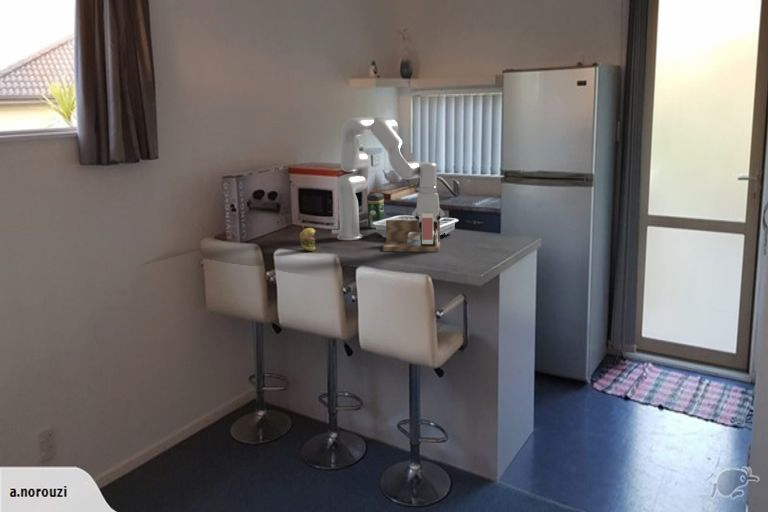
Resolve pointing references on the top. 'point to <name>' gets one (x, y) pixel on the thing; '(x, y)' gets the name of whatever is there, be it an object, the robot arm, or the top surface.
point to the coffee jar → (375, 208)
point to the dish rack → (445, 223)
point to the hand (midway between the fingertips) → (428, 229)
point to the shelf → (402, 236)
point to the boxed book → (427, 228)
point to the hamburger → (308, 239)
